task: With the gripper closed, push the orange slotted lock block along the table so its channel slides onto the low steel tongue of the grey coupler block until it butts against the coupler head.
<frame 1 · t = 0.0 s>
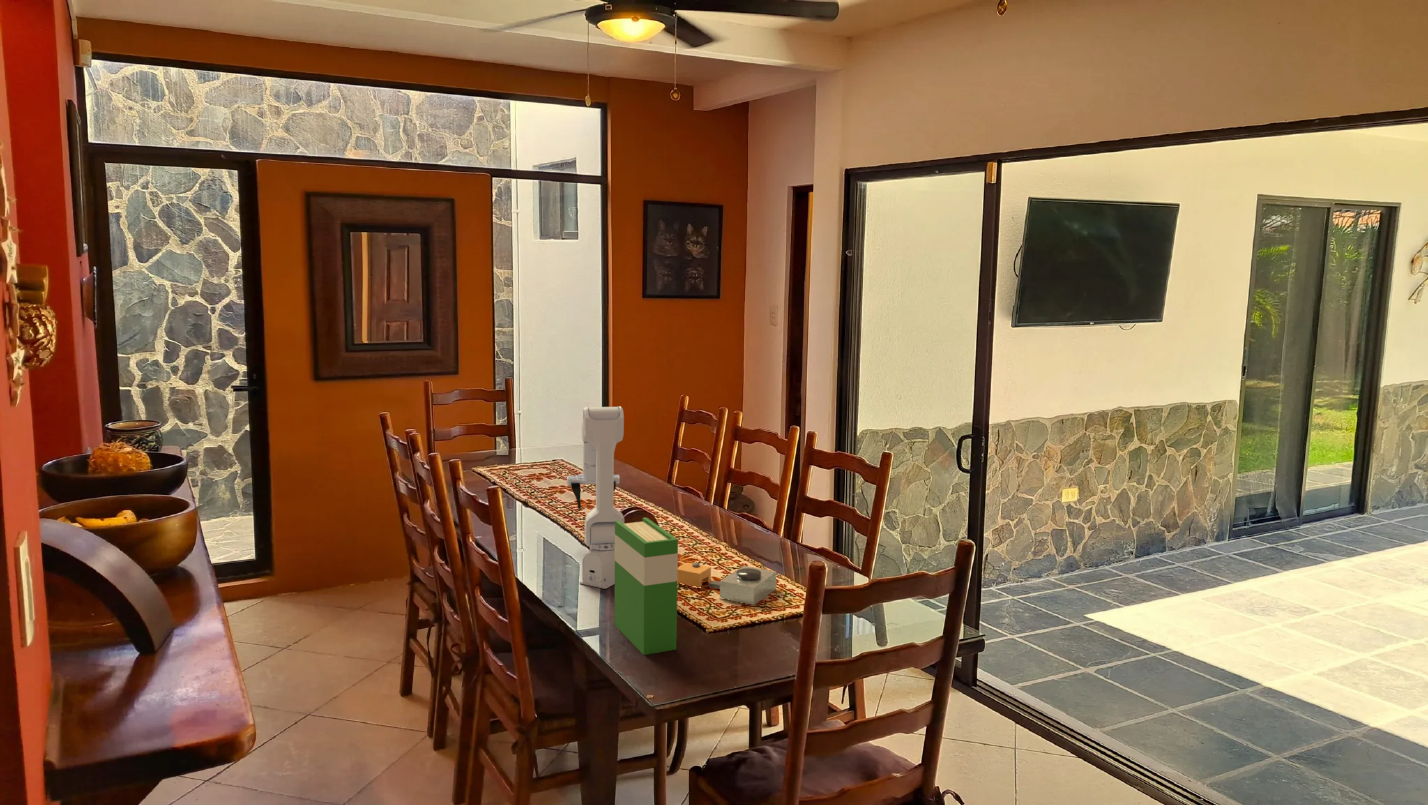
hand: (592, 507, 273), 11 cm above the table, tool pointing down, fingers open, 7 cm apart
lock block: (692, 583, 244), on the table
hardback book: (644, 637, 210), on the table
coupler: (742, 592, 237), on the table
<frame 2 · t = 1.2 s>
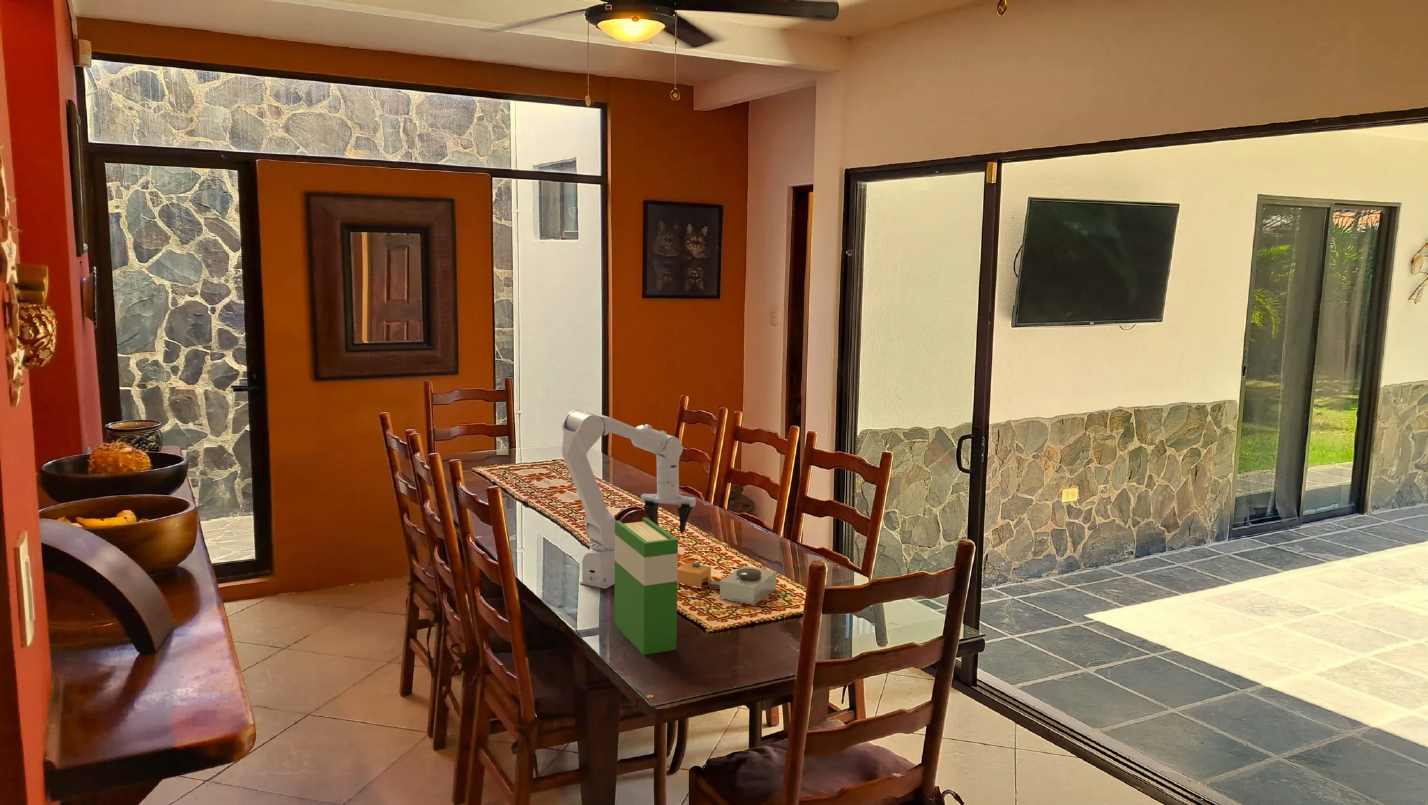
hand: (668, 530, 253), 10 cm above the table, tool pointing down, fingers open, 7 cm apart
nothing on the table moved.
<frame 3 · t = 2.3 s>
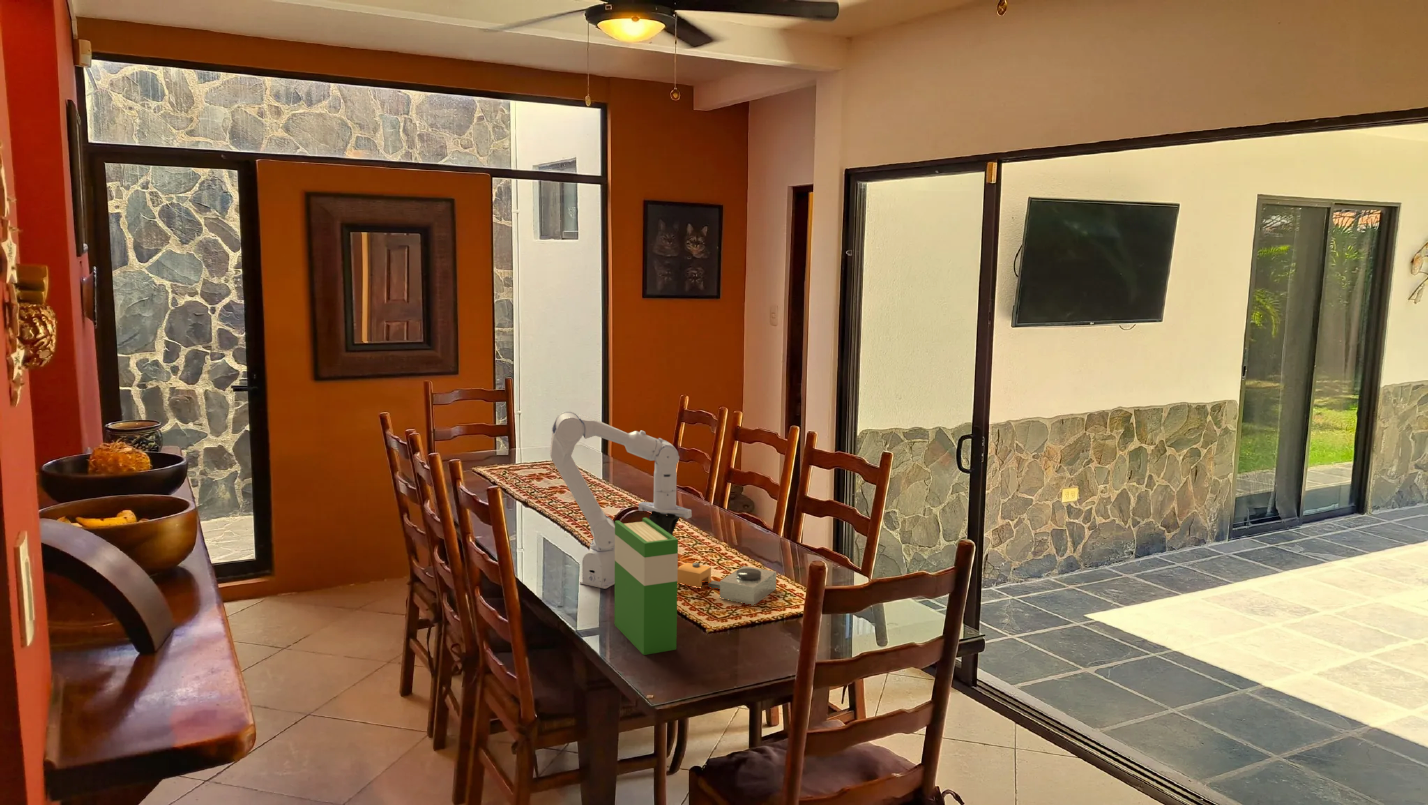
hand: (664, 541, 246), 9 cm above the table, tool pointing down, fingers closed
nothing on the table moved.
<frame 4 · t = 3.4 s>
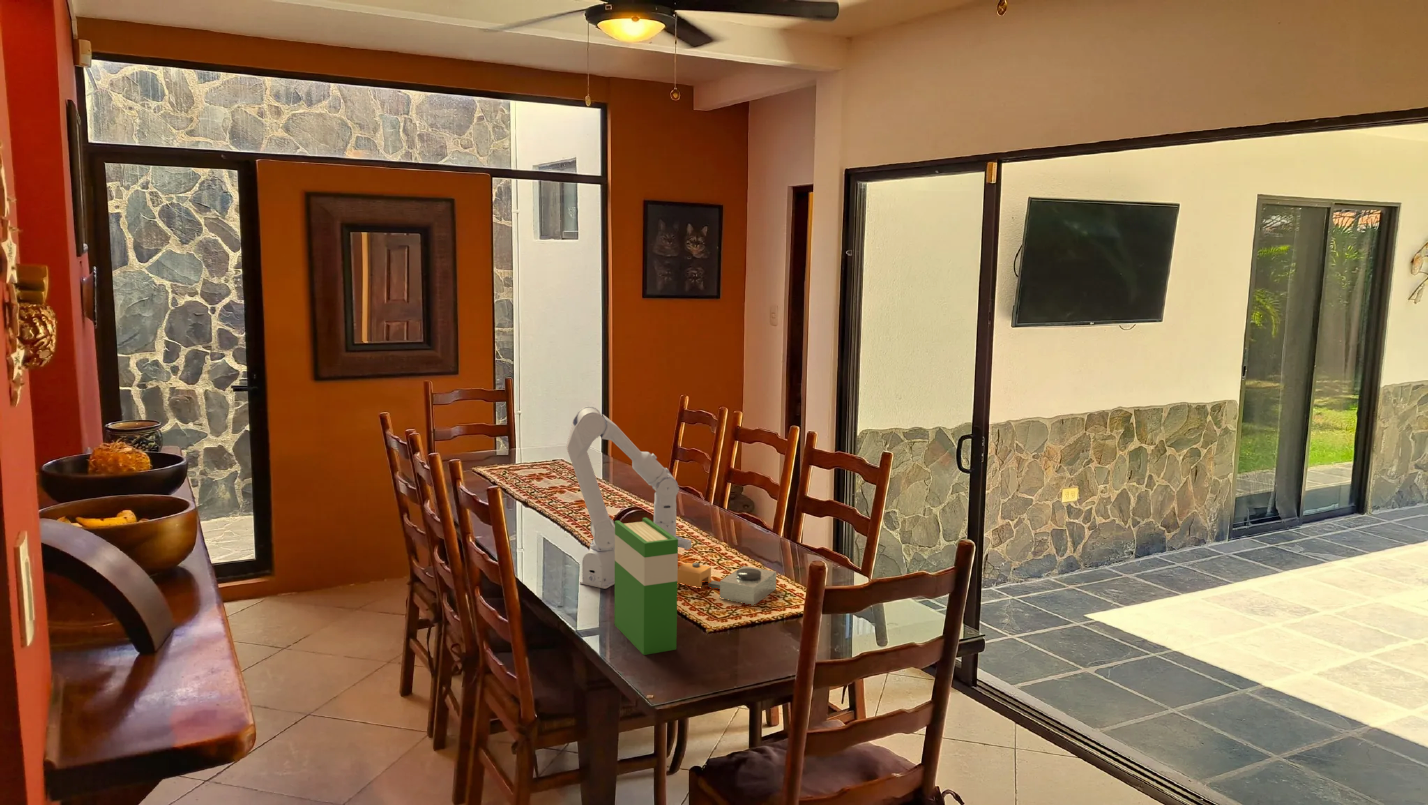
hand: (664, 571, 247), 1 cm above the table, tool pointing down, fingers closed
nothing on the table moved.
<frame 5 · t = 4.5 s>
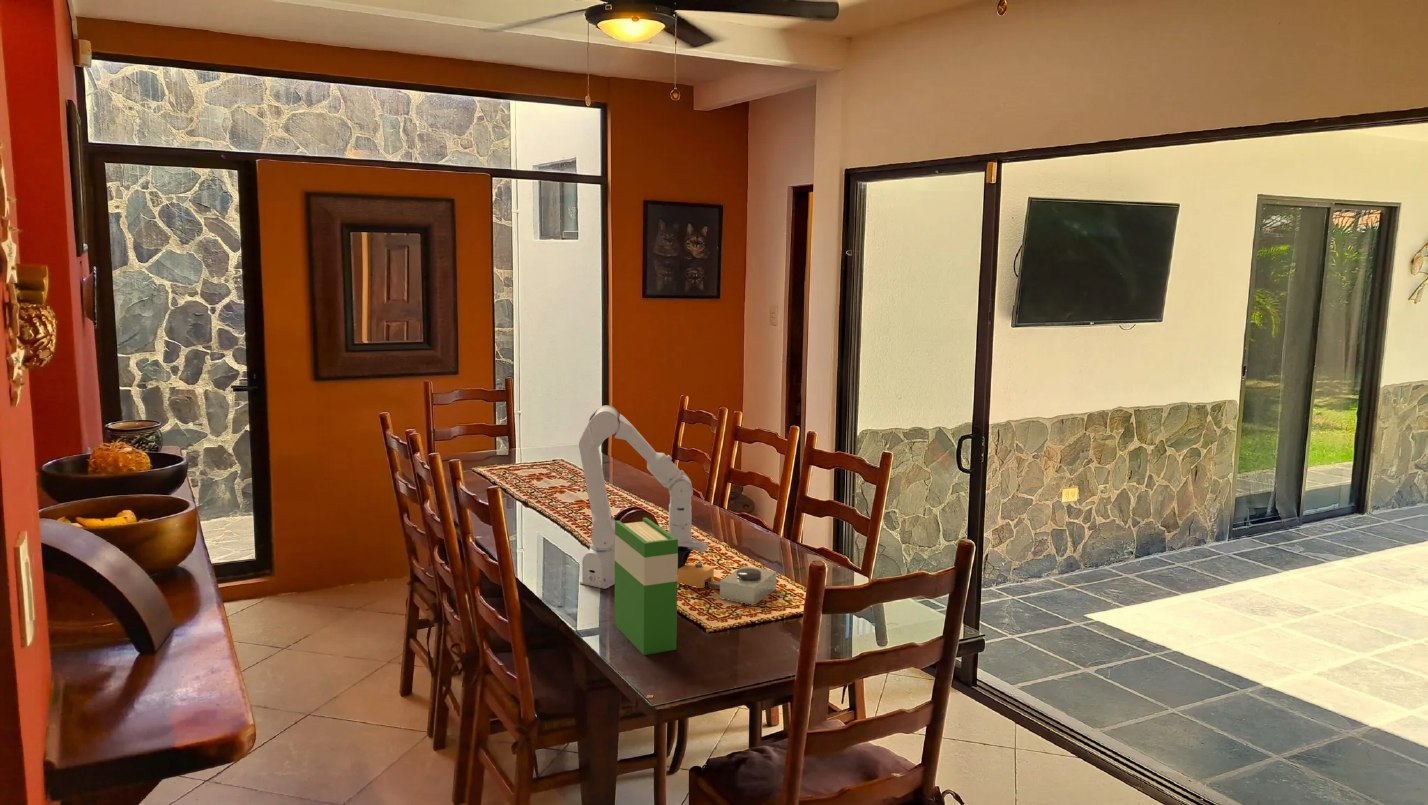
hand: (679, 574, 245), 1 cm above the table, tool pointing down, fingers closed
lock block: (695, 583, 243), on the table, touching gripper
everything else where it was.
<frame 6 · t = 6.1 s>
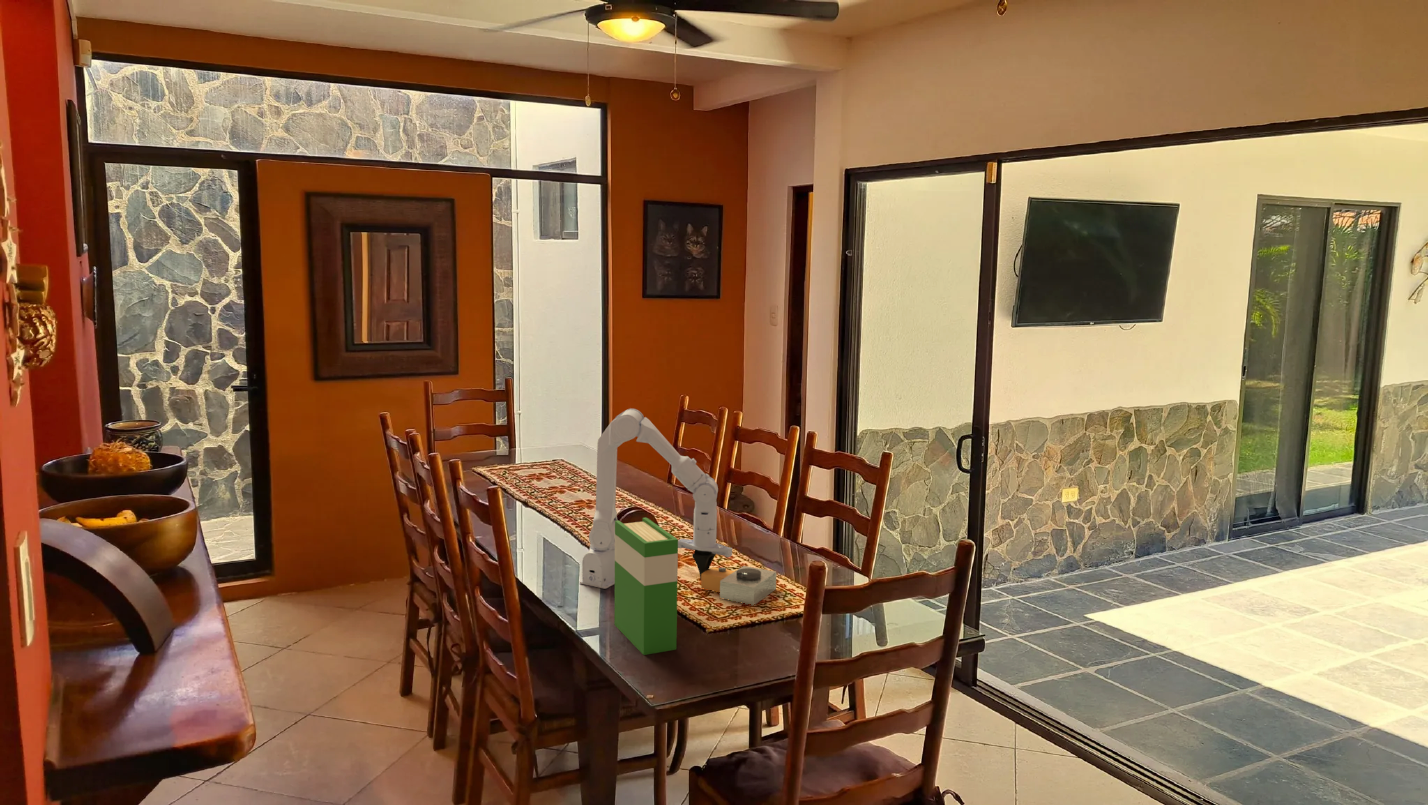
hand: (703, 579, 242), 1 cm above the table, tool pointing down, fingers closed
lock block: (719, 588, 240), resting in coupler, touching gripper
everything else where it was.
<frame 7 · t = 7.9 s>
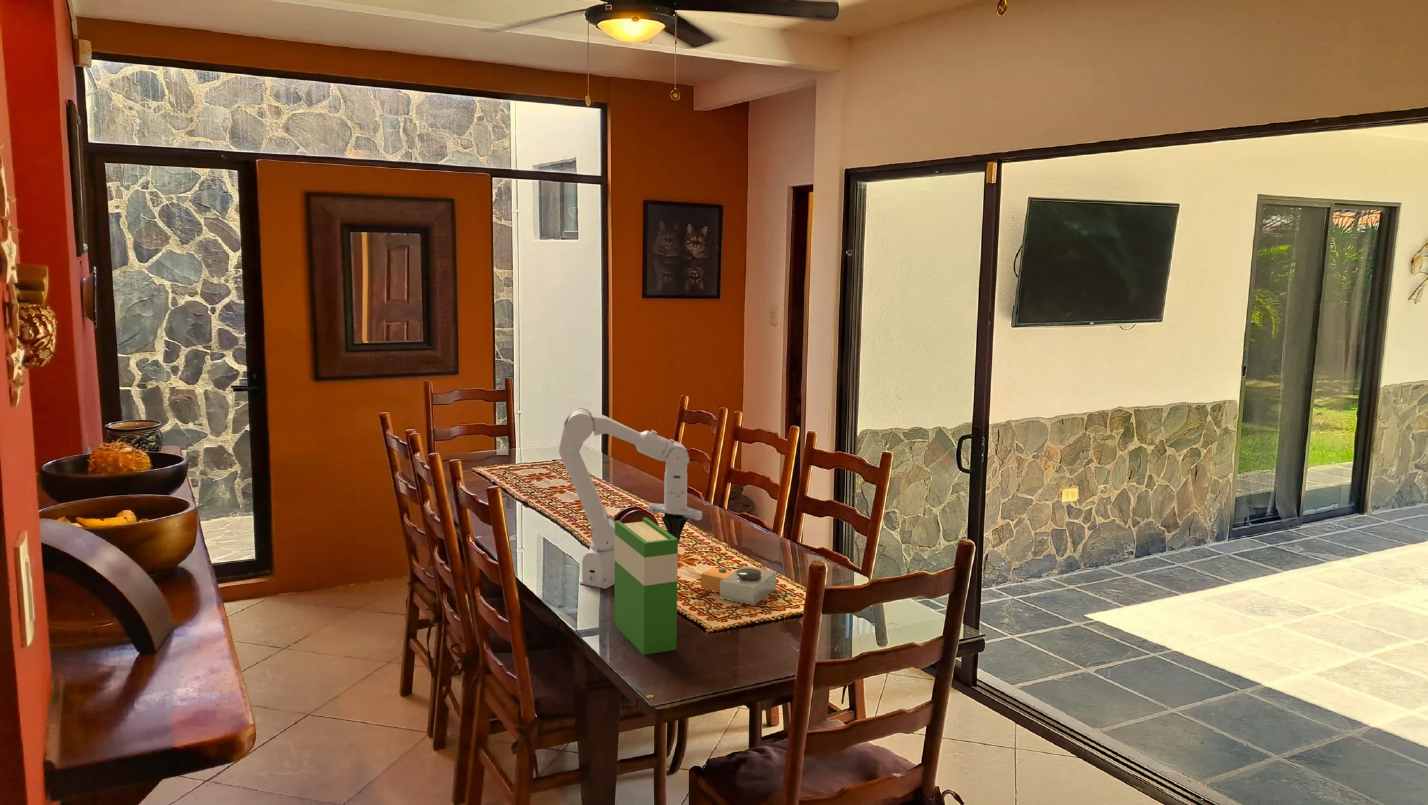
hand: (674, 543, 245), 9 cm above the table, tool pointing down, fingers closed
lock block: (719, 588, 240), resting in coupler
everything else where it was.
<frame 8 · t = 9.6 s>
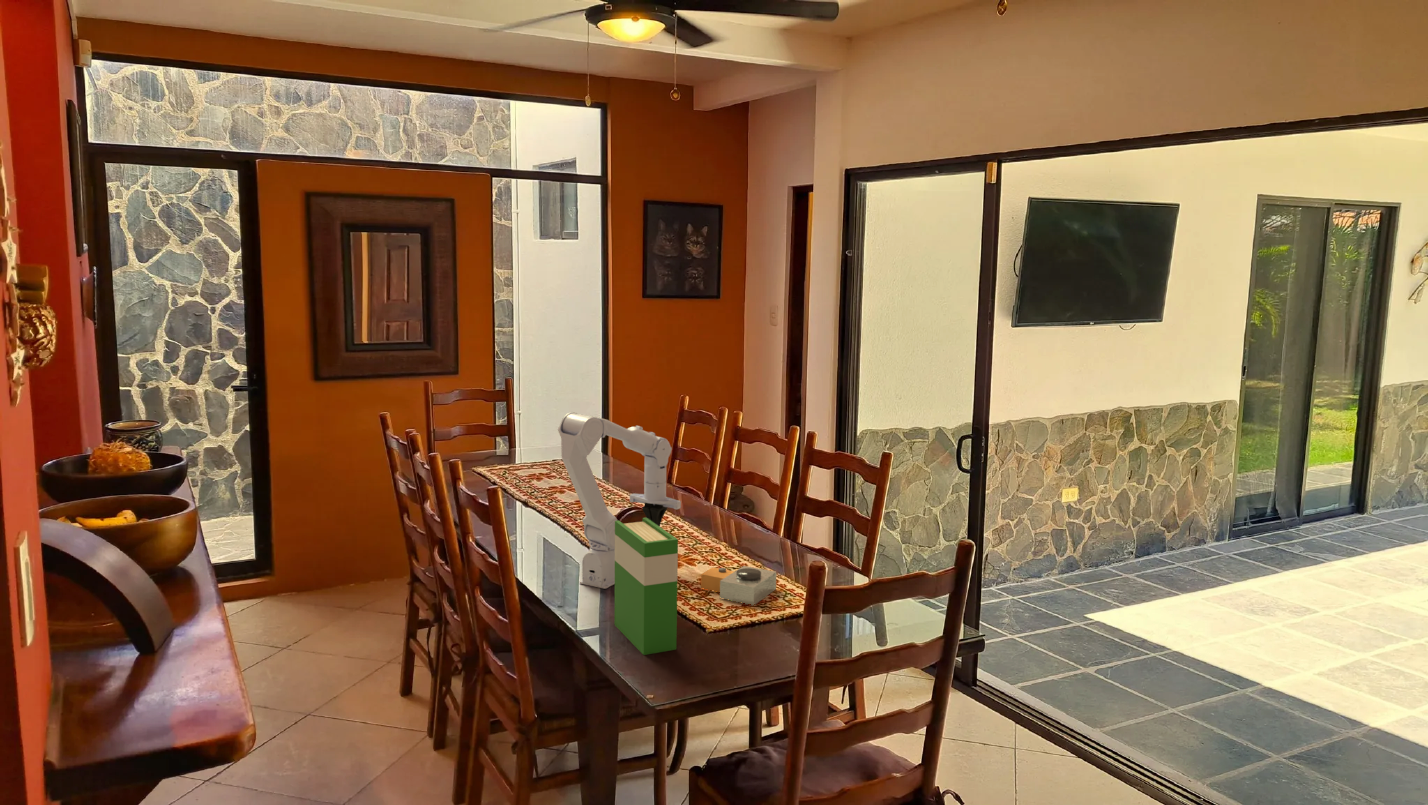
hand: (654, 531, 254), 9 cm above the table, tool pointing down, fingers closed
nothing on the table moved.
at the end: lock block 0.2 cm from the target spot on the coupler, point 0.0 cm above the coupler's base; lock block tilted 0° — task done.
